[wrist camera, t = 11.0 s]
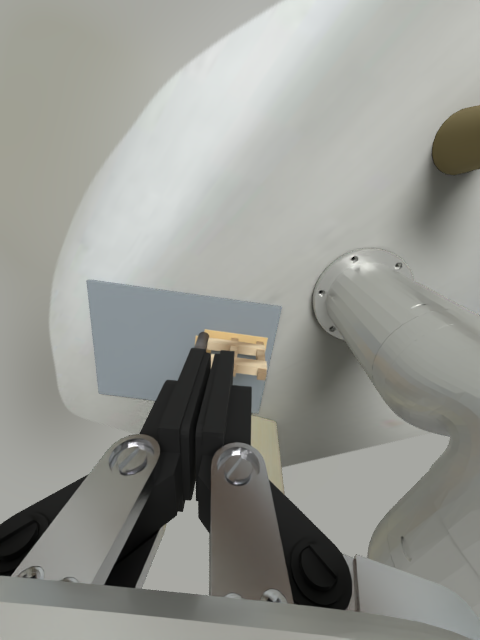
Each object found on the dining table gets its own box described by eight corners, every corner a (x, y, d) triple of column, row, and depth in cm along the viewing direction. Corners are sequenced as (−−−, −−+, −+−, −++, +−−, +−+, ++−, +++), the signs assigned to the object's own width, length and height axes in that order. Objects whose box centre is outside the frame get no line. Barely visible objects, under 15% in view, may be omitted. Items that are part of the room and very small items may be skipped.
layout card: (281, 306, 37) (281, 308, 36) (257, 413, 45) (257, 416, 45) (88, 279, 36) (86, 280, 35) (100, 393, 44) (98, 396, 44)
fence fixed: (264, 338, 39) (268, 375, 31) (262, 347, 40) (265, 386, 32) (199, 329, 39) (186, 364, 31) (198, 339, 39) (186, 376, 31)
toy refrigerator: (235, 409, 45) (225, 568, 26) (277, 420, 46) (297, 582, 27) (222, 441, 48) (204, 603, 29) (261, 451, 49) (269, 615, 30)
